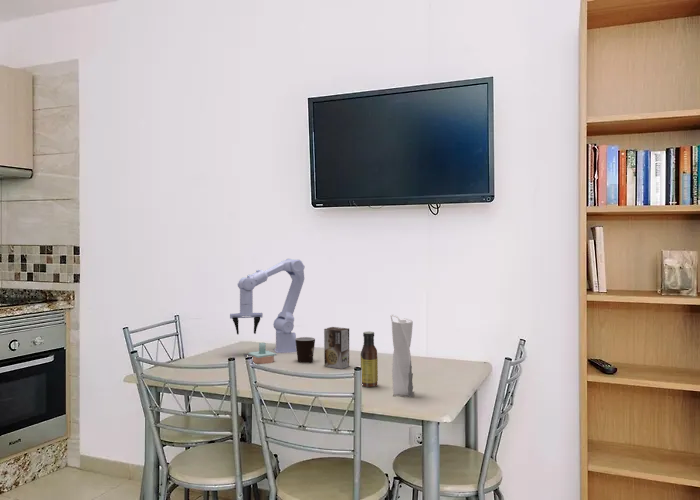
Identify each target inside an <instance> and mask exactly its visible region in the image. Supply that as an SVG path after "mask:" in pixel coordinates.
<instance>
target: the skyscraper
mask: <svg viewBox="0 0 700 500" xmlns="http://www.w3.org/2000/svg"><path fill="white" fill-rule="evenodd" d="M393 317H394V318H397V320H394V321H393ZM390 319H391V331H392V332H391V335H392V345H393V353H392V364H391V365H392V367H391V368H392V370H391V372H392V373H391V374H392V376H391V377H392V379H391V380H392V393H393V394H392V397H396V396H400V397H401V398H414V395H415V391H414V385H413V376H414V373H412V369H413V367H412V355H411V350H410V348H411V343H412V335H413V320H412V319H409V318H400V317H399V316H397V315H394V314H391V315H390Z"/></svg>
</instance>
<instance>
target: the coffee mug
mask: <svg viewBox="0 0 700 500" xmlns="http://www.w3.org/2000/svg"><path fill="white" fill-rule="evenodd" d="M295 340H296V356H297V362H298V363H300V364H301V363H303V364H311V363H313V361H314V351H315V343H316V338H315V337H312V336H311V337H309V336H301V337H296V339H295Z"/></svg>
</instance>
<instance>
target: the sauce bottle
mask: <svg viewBox="0 0 700 500" xmlns="http://www.w3.org/2000/svg"><path fill="white" fill-rule="evenodd" d="M362 336H363V345H362V348H361V351H360V369H361V368H362V384H363V387H365V388H366V387H367V388H372V387H373V388H374V387H377V385H378V380H379V375H378V373H379V371H378V366H379V364H378V361H379V360H378V349H377V347H376V346H375V339H374V338H375V332H374V331H370V330H369V331H364V332H363V334H362ZM362 384H361V385H362Z"/></svg>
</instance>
